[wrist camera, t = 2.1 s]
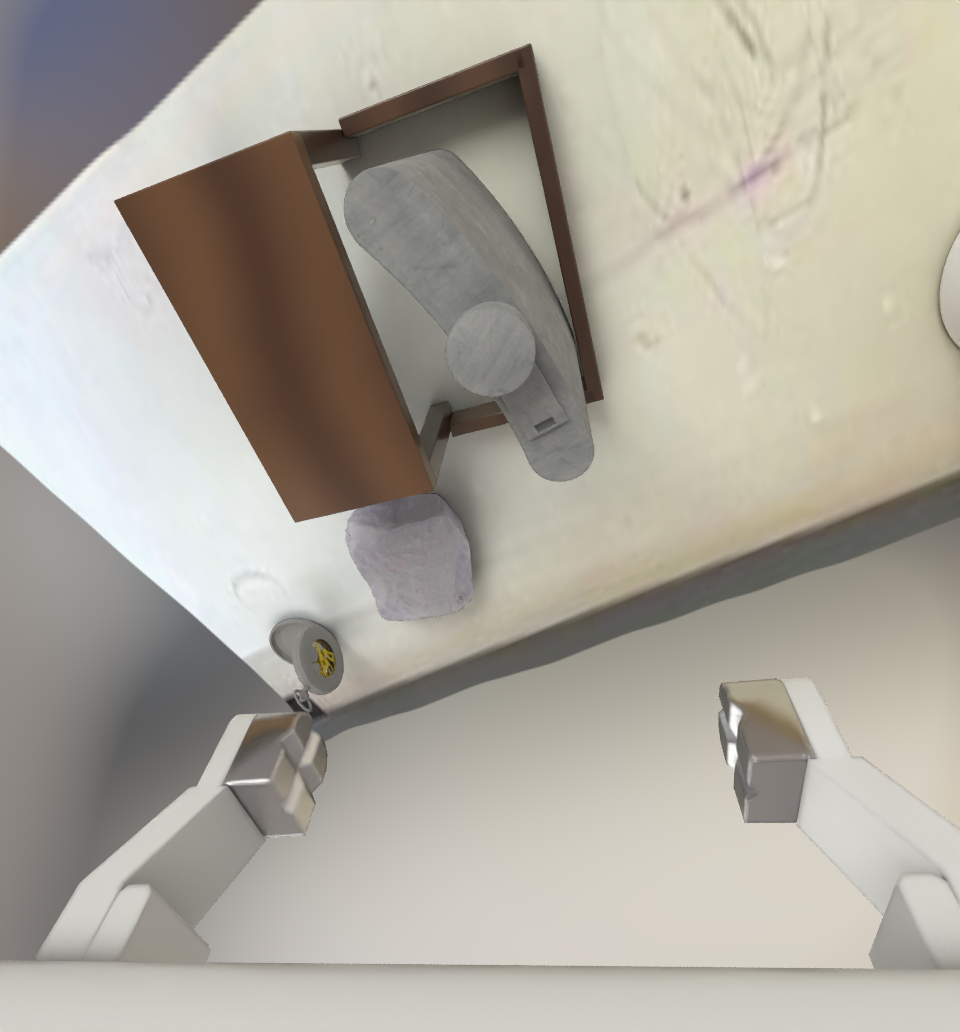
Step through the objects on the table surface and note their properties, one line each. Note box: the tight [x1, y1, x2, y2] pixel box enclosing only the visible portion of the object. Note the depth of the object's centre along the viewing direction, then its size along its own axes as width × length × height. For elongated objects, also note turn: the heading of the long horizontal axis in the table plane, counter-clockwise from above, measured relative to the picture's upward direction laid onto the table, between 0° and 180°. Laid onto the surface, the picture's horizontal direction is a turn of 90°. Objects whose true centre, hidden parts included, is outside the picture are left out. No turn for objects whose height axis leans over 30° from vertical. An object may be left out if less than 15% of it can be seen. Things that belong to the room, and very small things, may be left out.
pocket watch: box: [269, 619, 344, 712], centre depth 57 cm, size 8×8×10 cm
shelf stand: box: [114, 44, 604, 522], centre depth 37 cm, size 22×21×11 cm
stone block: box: [346, 494, 474, 621], centre depth 53 cm, size 12×5×10 cm
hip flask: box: [344, 149, 594, 482], centre depth 32 cm, size 16×4×20 cm, turn 37°
